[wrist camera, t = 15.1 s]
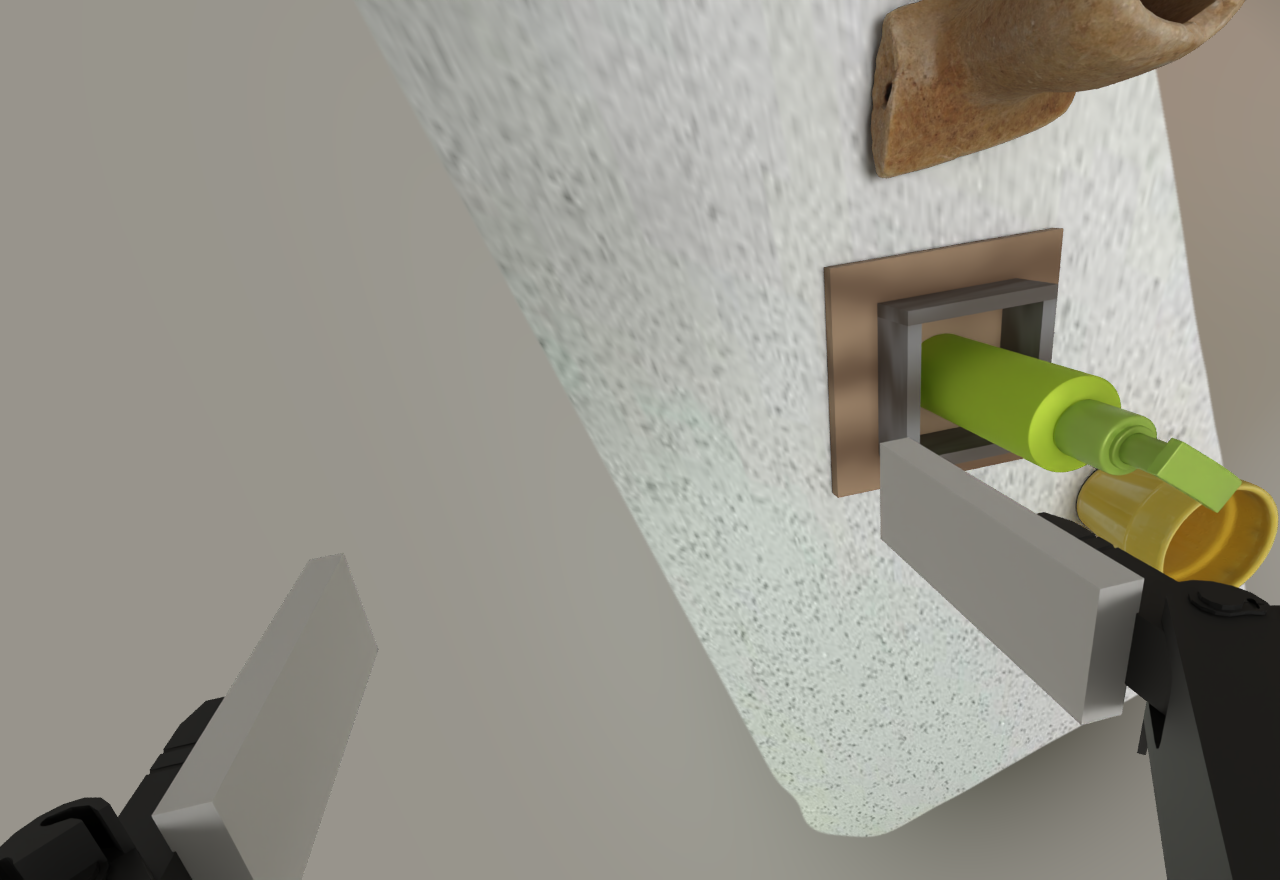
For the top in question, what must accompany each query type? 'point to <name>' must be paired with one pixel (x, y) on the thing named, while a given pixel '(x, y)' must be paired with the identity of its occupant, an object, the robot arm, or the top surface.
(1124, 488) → the plant pot
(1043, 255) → the dispenser stand
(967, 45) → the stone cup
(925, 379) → the soap dispenser
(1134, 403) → the top surface
